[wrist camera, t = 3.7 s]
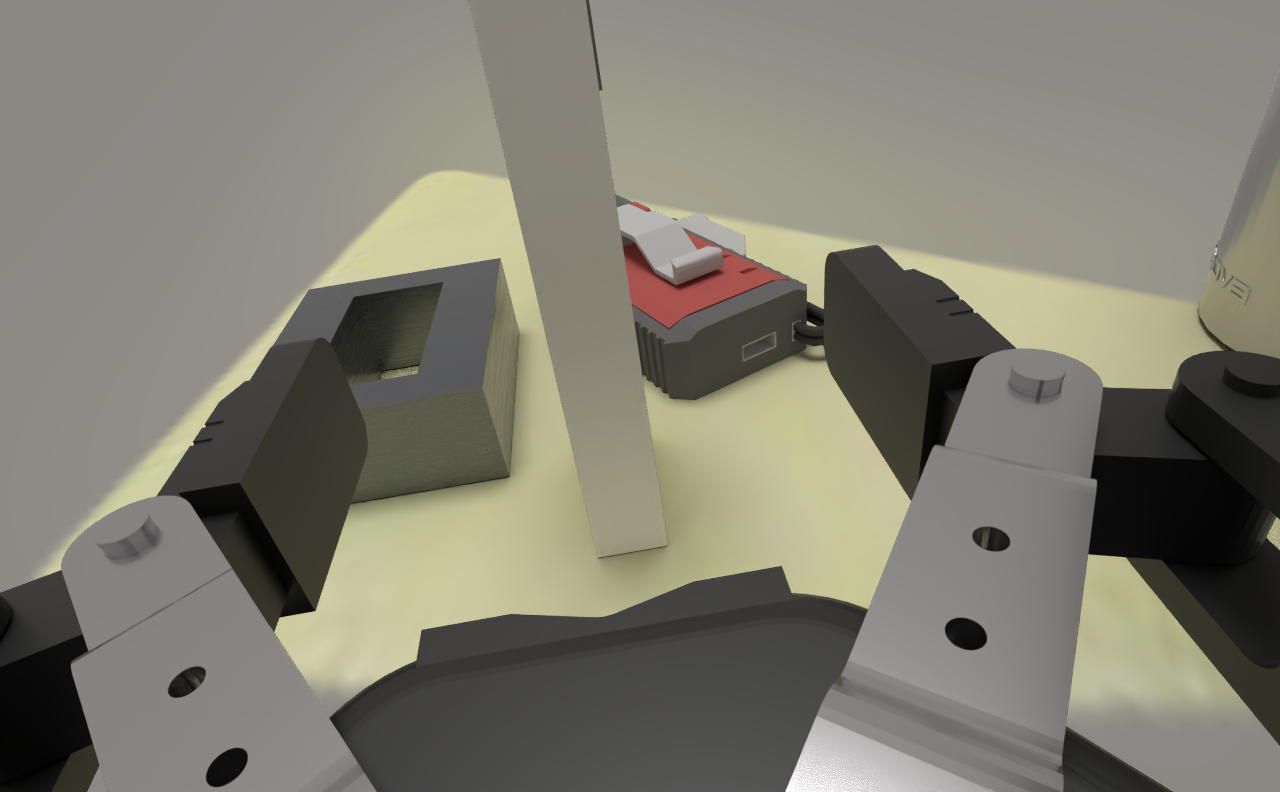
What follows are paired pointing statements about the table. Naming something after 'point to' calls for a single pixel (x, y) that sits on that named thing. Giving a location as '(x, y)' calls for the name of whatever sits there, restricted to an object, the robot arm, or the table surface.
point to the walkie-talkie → (707, 303)
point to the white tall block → (575, 253)
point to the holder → (423, 372)
